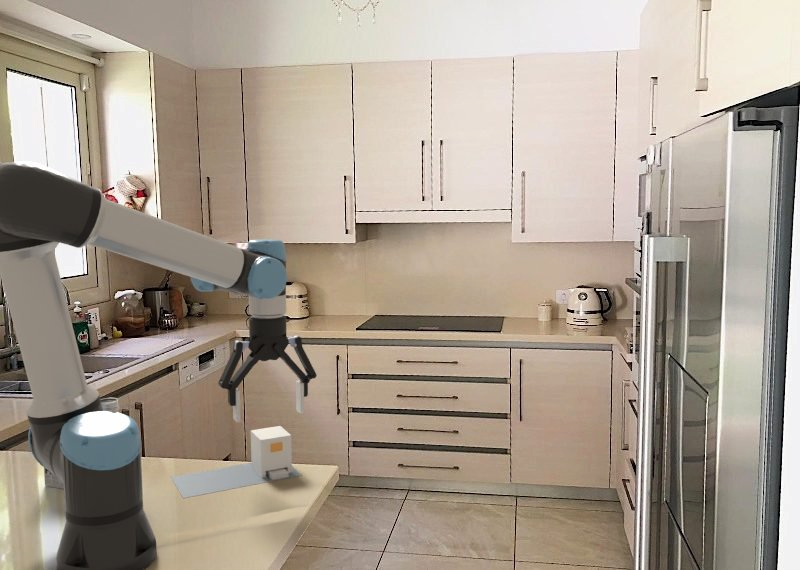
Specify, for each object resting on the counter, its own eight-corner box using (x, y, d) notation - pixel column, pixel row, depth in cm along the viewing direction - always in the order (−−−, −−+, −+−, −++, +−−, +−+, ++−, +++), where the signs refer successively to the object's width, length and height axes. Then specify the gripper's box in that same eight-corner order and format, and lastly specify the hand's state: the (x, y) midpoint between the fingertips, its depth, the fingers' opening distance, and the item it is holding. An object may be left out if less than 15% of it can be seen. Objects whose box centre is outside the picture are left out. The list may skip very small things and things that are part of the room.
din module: (292, 472, 155) (291, 435, 154) (262, 478, 152) (261, 440, 151) (281, 461, 161) (280, 425, 160) (251, 466, 158) (250, 430, 157)
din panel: (302, 482, 154) (302, 470, 154) (183, 505, 143) (183, 493, 142) (282, 463, 164) (282, 452, 164) (171, 484, 153) (170, 472, 153)
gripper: (317, 308, 162) (318, 404, 164) (201, 316, 150) (204, 419, 153) (331, 313, 155) (331, 413, 158) (211, 322, 144) (213, 429, 146)
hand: (269, 416), depth 155 cm, fingers open, 13 cm apart
